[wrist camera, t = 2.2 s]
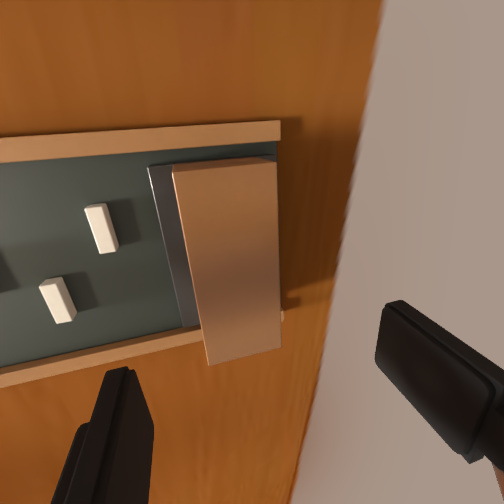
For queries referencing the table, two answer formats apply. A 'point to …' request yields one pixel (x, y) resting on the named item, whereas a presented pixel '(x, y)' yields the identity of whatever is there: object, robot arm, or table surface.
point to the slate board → (84, 245)
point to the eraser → (223, 250)
